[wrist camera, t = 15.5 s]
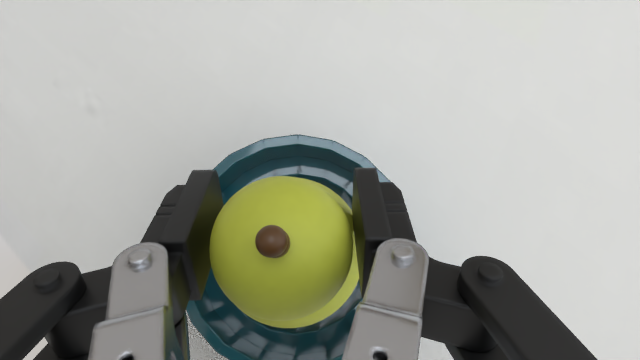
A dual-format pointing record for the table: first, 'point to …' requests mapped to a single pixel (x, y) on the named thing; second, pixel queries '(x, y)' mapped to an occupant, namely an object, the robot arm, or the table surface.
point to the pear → (285, 251)
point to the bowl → (223, 315)
